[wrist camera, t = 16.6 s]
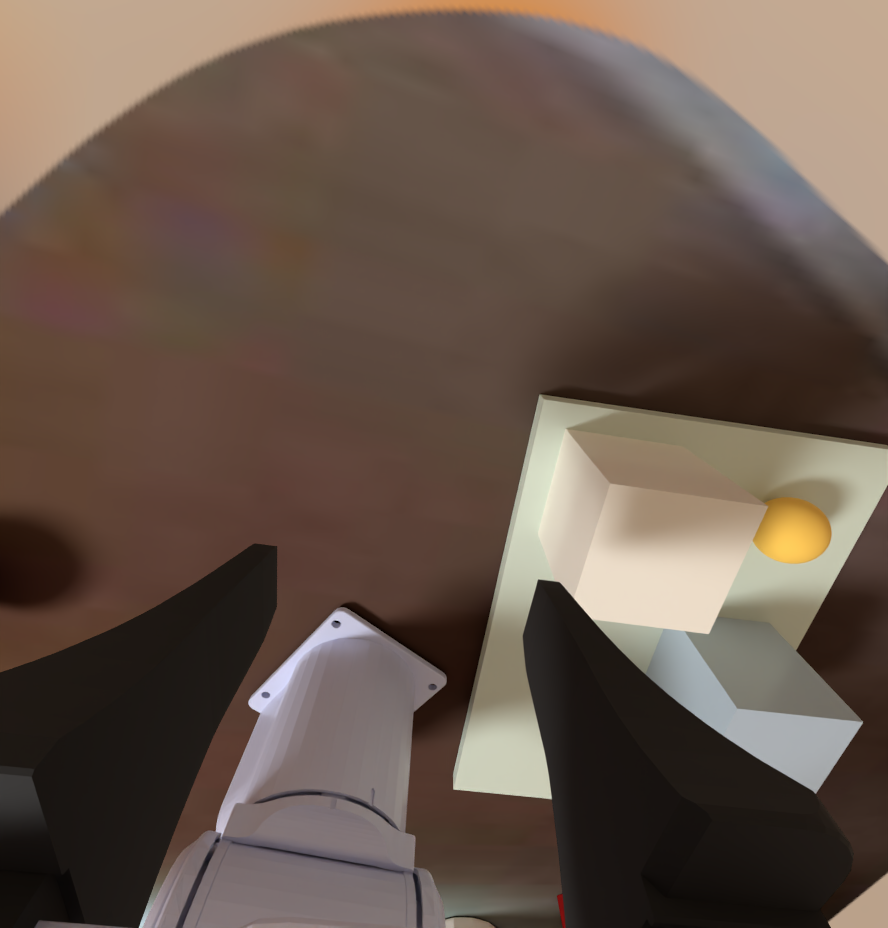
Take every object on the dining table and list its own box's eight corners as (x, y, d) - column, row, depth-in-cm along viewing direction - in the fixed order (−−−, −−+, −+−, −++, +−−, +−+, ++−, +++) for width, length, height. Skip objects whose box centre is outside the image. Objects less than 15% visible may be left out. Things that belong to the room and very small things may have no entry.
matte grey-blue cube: (731, 697, 27) (806, 807, 21) (639, 687, 27) (691, 796, 21) (769, 622, 25) (863, 721, 19) (670, 611, 25) (737, 708, 19)
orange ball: (758, 551, 23) (801, 589, 20) (723, 517, 22) (762, 550, 20) (811, 512, 22) (864, 545, 20) (776, 474, 22) (825, 503, 19)
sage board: (697, 798, 32) (705, 813, 31) (453, 773, 31) (453, 789, 30) (886, 444, 22) (905, 452, 21) (539, 394, 21) (544, 399, 20)
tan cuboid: (645, 548, 23) (708, 634, 18) (537, 533, 23) (568, 616, 17) (682, 446, 21) (768, 506, 16) (565, 428, 21) (610, 483, 15)
